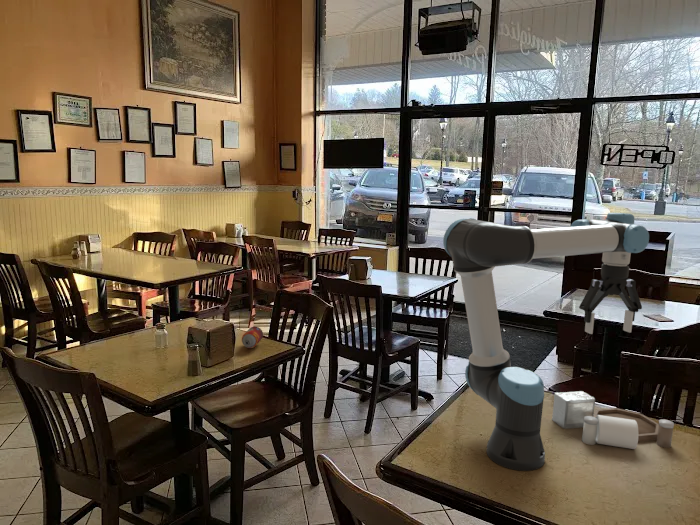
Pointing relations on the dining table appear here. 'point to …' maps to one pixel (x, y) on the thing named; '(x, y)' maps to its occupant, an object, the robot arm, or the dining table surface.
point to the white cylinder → (617, 432)
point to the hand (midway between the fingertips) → (608, 332)
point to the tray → (645, 424)
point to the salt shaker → (589, 430)
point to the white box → (572, 408)
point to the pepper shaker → (665, 433)
